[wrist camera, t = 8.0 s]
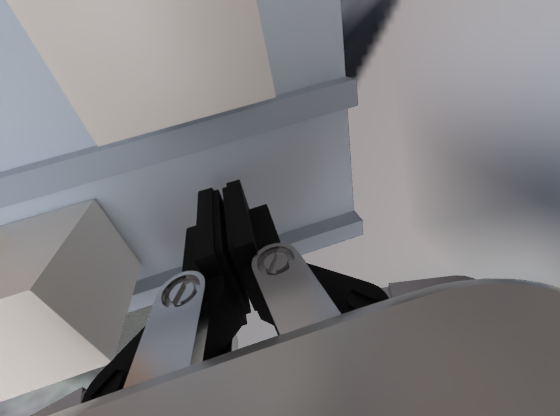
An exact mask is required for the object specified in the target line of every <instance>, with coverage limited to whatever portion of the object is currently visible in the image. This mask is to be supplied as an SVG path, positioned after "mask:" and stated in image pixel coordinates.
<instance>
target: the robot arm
mask: <svg viewBox="0 0 560 416" xmlns="http://www.w3.org/2000/svg"><path fill="white" fill-rule="evenodd" d="M226 185H227V187H224V188H222V192H223V199H222V196H221V194H220V191H219V190H218V189H217V190H213V188H212V187H211V188H208V189H205V190H201V191H198V201H197V219H196V225H195V226H192V227H189V228H187V230H186V238H185V247H184V256H183V266H182V273H179V274H177V275H175V276H173V277H171V278H170V279H169V280H168V281H166V282H165V283H164V285H163V286H162V287H161V288H160V290H159V292H158V294H157V296H156V298H155V301H154V304H153V307H152V310H151V312H150V315H149V318H148V321H147V323H146V326H145V327H144V328H143V329H142V330H141V331H140V332H139V333H138V334H137V335H136V336H135V337H134V338H133V339H132V340H131V341H130V342H129V343H128V344H127V345H126V346H125V347H124V348H123V349H122V350H121V352H120V353H119V354H118V355H117V356H116V357H115V358H114V359H113V360H112V361H111V362H110V363H109V364H108V365H107V366H106V367H105V368H104V369H103V370H102V371H101V372H100V373H99V374H98V375H97V376H96V378H95V379H94V380H93V381H92V383H91V384H90V385H89V387H88V389H87V390H86V389H85V388H83V387H82V388H80V389H78V390H76V391H74V392H73V393H71V394H69V395H67V396H65V397H64V398H62V399H60V400H58V401H56V402H54V403H53V404H51V405H49V406H47V407H45V408H44V409H42V410H40V411H38V412H36V413H35V414H33V415H31V416H560V288H558V287H555V286H551V285H548V284H544V283H539V282H533V281H527V280H516V279H474V278H470V277H466V276H448V277H439V278H430V279H421V280H413V281H404V282H396V283H389V287H385V288H380V287H378V286H376V285H374V284H371V283H369V282H366V281H363V280H360V279H356V278H353V277H350V276H347V275H343V274H340V273H337V272H334V271H330V270H327V269H324V268H321V267H318V266H314V265H311V264H308V263H306V262H305V261H304V259H303V258H302V257H301V255H300V253H299V252H298V251H297V249H296V248H295V247H293V246H292V245H289V244H286V243H281V242H280V239H279V236H278V234H277V231H276V228H275V225H274V223H273V220H272V217H271V214H270V211H269V209H268V206H267V204H264V205H261V206H258V207H255V208H251V209H249V206H248V203H247V200H246V197H245V194H244V191H243V188H242V185H241V182H240V179H239V180H235V181H232V182H228V183H226ZM248 296H249V297H248ZM249 299H250V301H251V303H252V306H253V308H254V310H255V311H258V314H259V316H260V318H261V319H262V320H264V321H266V322H268V323H270V324H272V325H274V326H275V329H276V331H277V334H278V336H276V337H273V338H270V339H267V340H264V341H261V342H258V343H255V344H252V345H250V346H246V347H243V348H240V349H238V340H237V336H236V333H237V332H238V331H239V329H240V328H241V326H243V325H246V324H247V319H246V314H248V313H250V312H251V309H250V303H249Z"/></svg>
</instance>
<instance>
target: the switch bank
mask: <svg viewBox="0 0 560 416" xmlns="http://www.w3.org/2000/svg"><path fill="white" fill-rule="evenodd" d="M256 1H257V6H258V11H259V15H260V20H261V25H262V30H263V35H264V40H265V45H266V50H267V55H268V59H269V64H270V69H271V74H272V79H273V84H274V89H275V94H276V97H275V98H272V99H268V100H265V101H261V102H257V103H254V104H250V105H247V106H243V107H239V108H236V109H232V110H229V111H225V112H221V113H218V114H214V115H211V116H207V117H203V118H200V119H196V120H193V121H189V122H185V123H182V124H178V125H175V126H171V127H167V128H164V129H160V130H157V131H153V132H149V133H146V134H142V135H139V136H135V137H131V138H128V139H124V140H121V141H117V142H113V143H110V144H106V145H103V146H99V147H98V146H97V145H96V143H95V141H94V140H93V138H92V137H91V135H90V134H89V132H88V130H87V129H86V127H85V126H84V124H83V122H82V121H81V119H80V118H79V116H78V114H77V113H76V111H75V110H74V108H73V106H72V105H71V103H70V102H69V100H68V98H67V97H66V95H65V94H64V92H63V90H62V89H61V87H60V86H59V84H58V82H57V81H56V79H55V78H54V76H53V74H52V73H51V71H50V70H49V68H48V66H47V65H46V63H45V62H44V60H43V59H42V57H41V55H40V54H39V52H38V51H37V49H36V47H35V46H34V44H33V43H32V41H31V39H30V38H29V36H28V35H27V33H26V31H25V30H24V28H23V27H22V25H21V23H20V22H19V20H18V19H17V17H16V15H15V14H14V12H13V11H12V9H11V7H10V6H9V4H8V3H7V1H6V0H0V226H3V225H7V224H10V223H14V222H17V221H20V220H24V219H27V218H31V217H34V216H37V215H41V214H44V213H48V212H51V211H54V210H58V209H61V208H65V207H68V206H71V205H75V204H78V203H82V202H85V201H89V200H92V199H95V200H96V202H97V203H98V205H99V206H100V207H101V209H102V210H103V212H104V213H105V214H106V216H107V217H108V219H109V220H110V221H111V223H112V224H113V226H114V227H115V228H116V230H117V231H118V233H119V234H120V235H121V237H122V238H123V239H124V241H125V242H126V244H127V245H128V246H129V248H130V249H131V251H132V252H133V253H134V255H135V256H136V258H137V259H138V260H139V262H140V263H141V267H140V271H139V274H138V278H137V281H136V285H135V288H134V292H133V295H132V299H131V302H130V306H129V309H128V312H131V311H134V310H137V309H140V308H143V307H146V306H149V305H152V304H154V301H155V298H156V296H157V294H158V292H159V290H160V288H161V287H162V286H163V285H164V283H165V282H166V281H168V280H169V279H170V278H171V277H173V276H175V275H177V274H179V273H182V266H183V256H184V247H185V238H186V230H187V228H189V227H192V226H195V225H196V219H197V201H198V191H201V190H205V189H208V188H211V187H212V188H213V190H217V189H218V190H219V191H220V194H221V196H222V199H223V192H222V188H224V187H227V185H226V183H228V182H232V181H235V180H239V179H240V182H241V185H242V188H243V191H244V194H245V197H246V200H247V203H248V206H249V209H251V208H255V207H258V206H261V205H264V204H267V206H268V209H269V211H270V214H271V217H272V220H273V223H274V225H275V228H276V231H277V234H278V236H279V239H280V242H281V243H286V244H289V245H292V246H293V247H295V248H296V249H297V251H298V252H299V253H300V255H303V254H305V253H308V252H312V251H315V250H318V249H320V248H323V247H327V246H330V245H333V244H336V243H339V242H342V241H345V240H348V239H351V238H354V237H356V236H360V235H362V234H363V220H362V219H361V218H360V217H359V216H358V215H357V213H356V212H355V211H354V203H353V187H352V172H351V156H350V142H349V141H350V140H349V124H348V108H350V107H354V106H357V105H358V96H357V79H355V78H351V77H346V76H345V61H344V45H343V29H342V13H341V0H256ZM128 312H127V313H128Z"/></svg>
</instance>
